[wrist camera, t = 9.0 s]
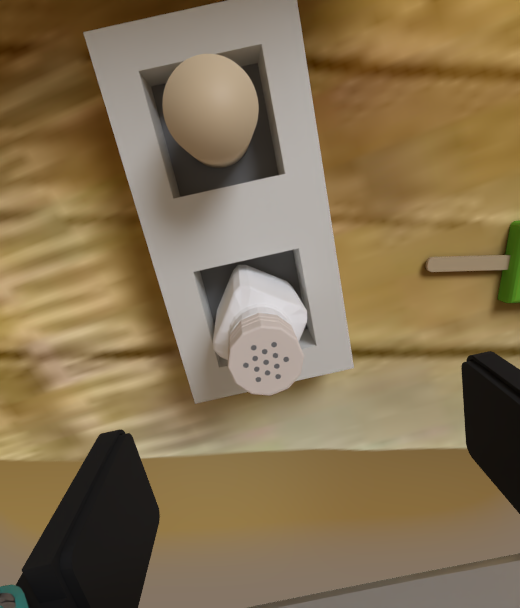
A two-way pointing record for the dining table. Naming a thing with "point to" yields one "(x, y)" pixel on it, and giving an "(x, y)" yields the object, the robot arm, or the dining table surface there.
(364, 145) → the dining table surface
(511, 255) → the popsicle
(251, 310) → the pepper shaker
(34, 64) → the dining table surface
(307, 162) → the block
